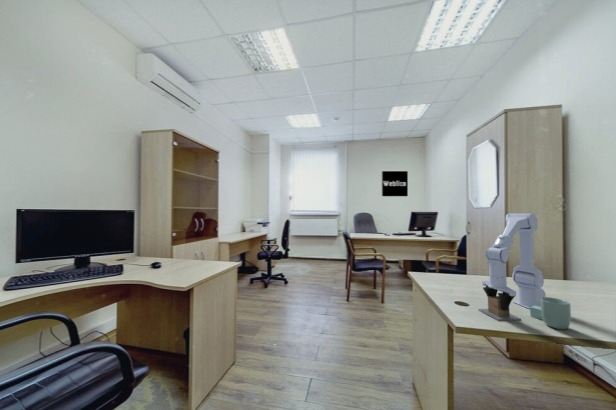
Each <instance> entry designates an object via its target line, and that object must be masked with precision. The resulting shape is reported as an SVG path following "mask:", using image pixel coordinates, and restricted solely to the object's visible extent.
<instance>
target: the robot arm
mask: <svg viewBox="0 0 616 410" xmlns="http://www.w3.org/2000/svg"><path fill="white" fill-rule="evenodd" d="M505 223H506V225H505V228H504V230H503V233H502V234H500V235H498V236H497V238H496V239H495V241H494V243H493V244H492V246H491V247H488V248H486V251H485V257H486V261H487V264H488V268H489V269H488V276H489V277H488V278H489V280H482V286H484V287H482V288H483V289H482V290H483V291H484V292H485V294H486V296H487V298H488V296H499V298H500V301H501V308H502V310H503V311H508V308H509V309H510V305H511V302H513V303H515V304H517V305H519V306H522V307H525V308H527V309H529V310H530V307H532V306H539V307H541V298H542V297H547V296H546V292H545V290H544V289H543V288H542V287H543V286H544V284H545V283H544V282H545V280H544V276H543V271H542V270H540V269H538V268H537V267H536V266H535V264H534V263H535V257H534V254H535V253H534V251H535V250H534V249H535V248H534V232H536V231H538V217H537V215H536V214H534V213H533V212H532V213H512V212H511V213H510V212H508V213H507V214H506V216H505ZM517 233H519V234H518V237H519V238H518V239H519V241H518V242H519V265H516V266H515V267H513V272H512V276H511V278H512V281H513V282H514V283H515V285H516V286H517V291H516V290H513V289H512V288H510V287H508V285H507V283H508V282H507V262H508V260H509V258H510V250H511V248H512V247H513V244H514V239H513V238H514V237H515V236H516V234H517ZM498 291H499V292H498ZM515 297H517V300H514V298H515ZM513 300H514V301H513Z"/></svg>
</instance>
